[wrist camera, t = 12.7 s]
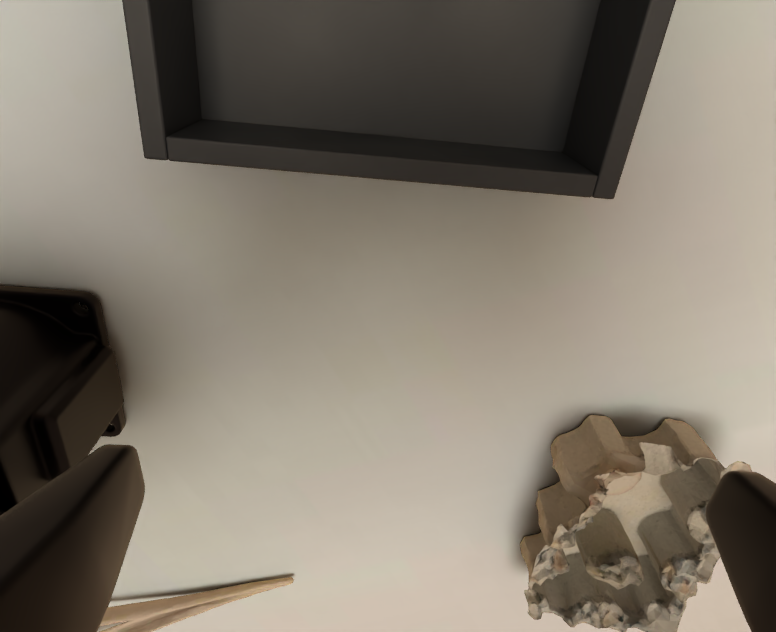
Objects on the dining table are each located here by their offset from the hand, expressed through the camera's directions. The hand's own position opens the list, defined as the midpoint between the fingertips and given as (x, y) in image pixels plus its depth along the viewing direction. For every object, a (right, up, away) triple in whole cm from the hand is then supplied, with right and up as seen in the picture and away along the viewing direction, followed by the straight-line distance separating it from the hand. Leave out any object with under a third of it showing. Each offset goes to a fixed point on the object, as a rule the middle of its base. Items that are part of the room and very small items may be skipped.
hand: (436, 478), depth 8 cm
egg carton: (+10, -6, +16) cm, 20 cm away
